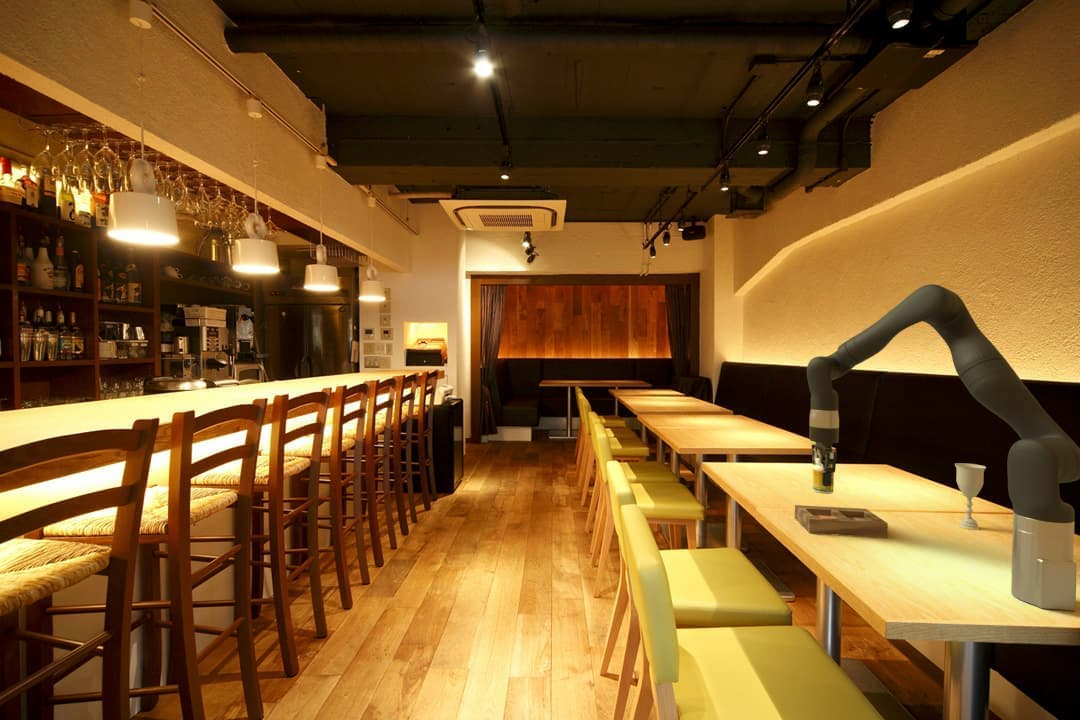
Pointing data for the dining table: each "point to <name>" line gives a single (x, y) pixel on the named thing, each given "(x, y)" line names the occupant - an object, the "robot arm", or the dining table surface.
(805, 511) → the socket block
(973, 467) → the chalice
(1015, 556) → the robot arm
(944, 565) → the dining table surface
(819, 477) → the supplement bottle
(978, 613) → the dining table surface
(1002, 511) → the dining table surface
